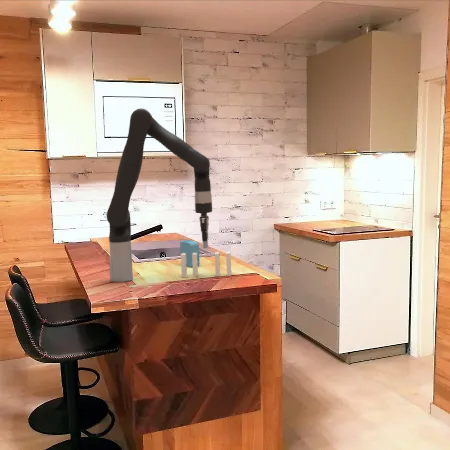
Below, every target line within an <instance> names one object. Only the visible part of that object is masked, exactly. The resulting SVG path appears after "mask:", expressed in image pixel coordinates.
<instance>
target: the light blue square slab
mask: <svg viewBox="0 0 450 450" xmlns="http://www.w3.org/2000/svg"><path fill="white" fill-rule="evenodd" d="M179 246H180V255H181V254H182V253H186V263H187V268H188V267H189V268H193V266H192V254H193V253H197V262H198V267H199V266H200V263H201V262H200V250H199V249H200V246H199V243H198V241H193V240H181V241H180V243H179Z"/></svg>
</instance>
